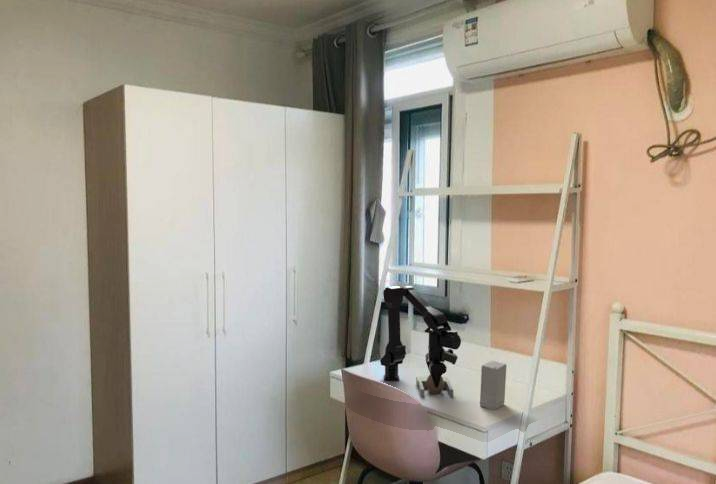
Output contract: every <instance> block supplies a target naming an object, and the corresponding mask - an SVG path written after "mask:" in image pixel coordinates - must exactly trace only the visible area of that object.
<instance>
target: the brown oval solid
mask: <svg viewBox="0 0 716 484" xmlns="http://www.w3.org/2000/svg"><path fill="white" fill-rule="evenodd" d="M427 377H428V378H427V382H426V385H427V388H426V389H427V390H428V392H429V393H430V394H434V395H438V394H440V393H442V391H443V388H444V380H443V378H442V377H443V376H442V375H441V378H440V382H439V386H438V387H435V385H434V382H433V379H432V376H431V374H430V373H429V375H428V376H427Z"/></svg>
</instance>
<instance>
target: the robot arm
mask: <svg viewBox="0 0 716 484" xmlns="http://www.w3.org/2000/svg"><path fill="white" fill-rule="evenodd" d="M382 296H383V302H384V304H385V305H386V307H387V316H388V317H387V320H388V321H387V322H388V342H387V344H386V346H385V352H384V355H383V356H382V357H381V358H380V360H379V363H380V365H381V366H384V375H383V380H384V381H400V375H399V365H402V364H403V362H404V359H405V358H406V355H407V351H406V349H407V347H406V344H403V343H402V341H401V315H400V309H401V305H402V303H403V301H404V297H405V298H406V300H407V301H408V302H409V303H410V305H412V306H413V307H414V308H415V309H416V310H417V311H418V312H419V313H420V315H422V319H423V322H424V323H425V324H426V326H427V328H426V329H425V330H424V331H423V332H424V333H428V346H427V349H428V350H427V351H428V352H427V353H426V354H425V356H424V357H425V363H426V367H427V368H428V371H429V375H430V374H431V376H432V379H433V382H434V385H435V387H438V386H439V382H440V378H441V376H442V375H444V374H445V373H446V372H447V369H448V368H447V365H446V364H445V362H448V363H450V364H452V365H456V364H457V360H458V355H457V354H455V353H454V350H456V351H457V350H458V349H459V348H460V346H461V344H462V339H461V336H460V335H459V333H458V331H455V330H453V331H452V328H451V326H450V324H449V322H448V320H447V316H446V315H445V314H444V313H443V312H442V311H440V310H439V309H436V308H434V307H432V305H430V304H429V303H428V302H427V301H426V300H425V299H424V298H423V297H422V296H421V295H420V294H419V293H418V292H417V291H416V290H415V288H414V287H413V285H408V286H403V287H400V286H398V285H397V286H387V287H385V288H384V290H383V291H382ZM445 348H447V350H445Z"/></svg>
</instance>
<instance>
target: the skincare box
mask: <svg viewBox="0 0 716 484" xmlns="http://www.w3.org/2000/svg"><path fill="white" fill-rule="evenodd" d="M480 374H481V376H480V394H479V396H480V397H479V398H480V399H479V406H480V407H483V408H486V409H490V410H493V411H496V410H497V409H499V408H500V407H502V406H504V405H505V398H506V383H507V382H506V380H507V363H503V362H499V361H495V360H490V361H488V362H486V363H484V364H482V365H481V373H480Z"/></svg>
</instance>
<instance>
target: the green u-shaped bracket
mask: <svg viewBox="0 0 716 484" xmlns="http://www.w3.org/2000/svg"><path fill="white" fill-rule="evenodd" d="M427 378H428V376H416V377H415V380H416V381H415V383H416V387H417V389H418V391H419V395H420V397H421V398H425V389H427V385H426V382H427ZM442 378H443V380H444V388H443V389H444V390H446V392H447V394H448V396H449V398H453V397H454V389H453V386H452V385H451V380H450V379H449V377H448V376H442Z"/></svg>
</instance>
